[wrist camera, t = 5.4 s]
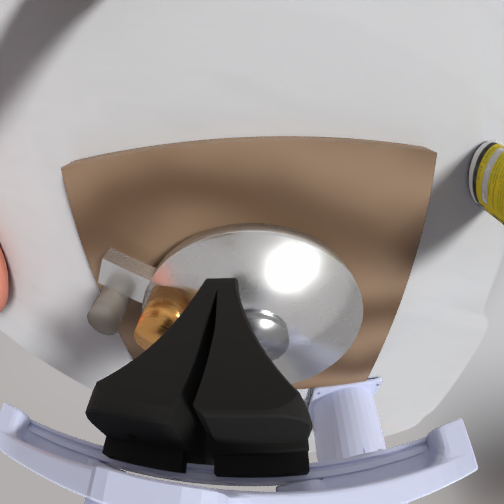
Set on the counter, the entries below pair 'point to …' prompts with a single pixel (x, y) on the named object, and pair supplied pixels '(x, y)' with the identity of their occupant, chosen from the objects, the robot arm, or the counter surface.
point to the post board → (260, 216)
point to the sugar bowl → (3, 281)
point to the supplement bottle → (488, 178)
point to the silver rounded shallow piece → (252, 291)
